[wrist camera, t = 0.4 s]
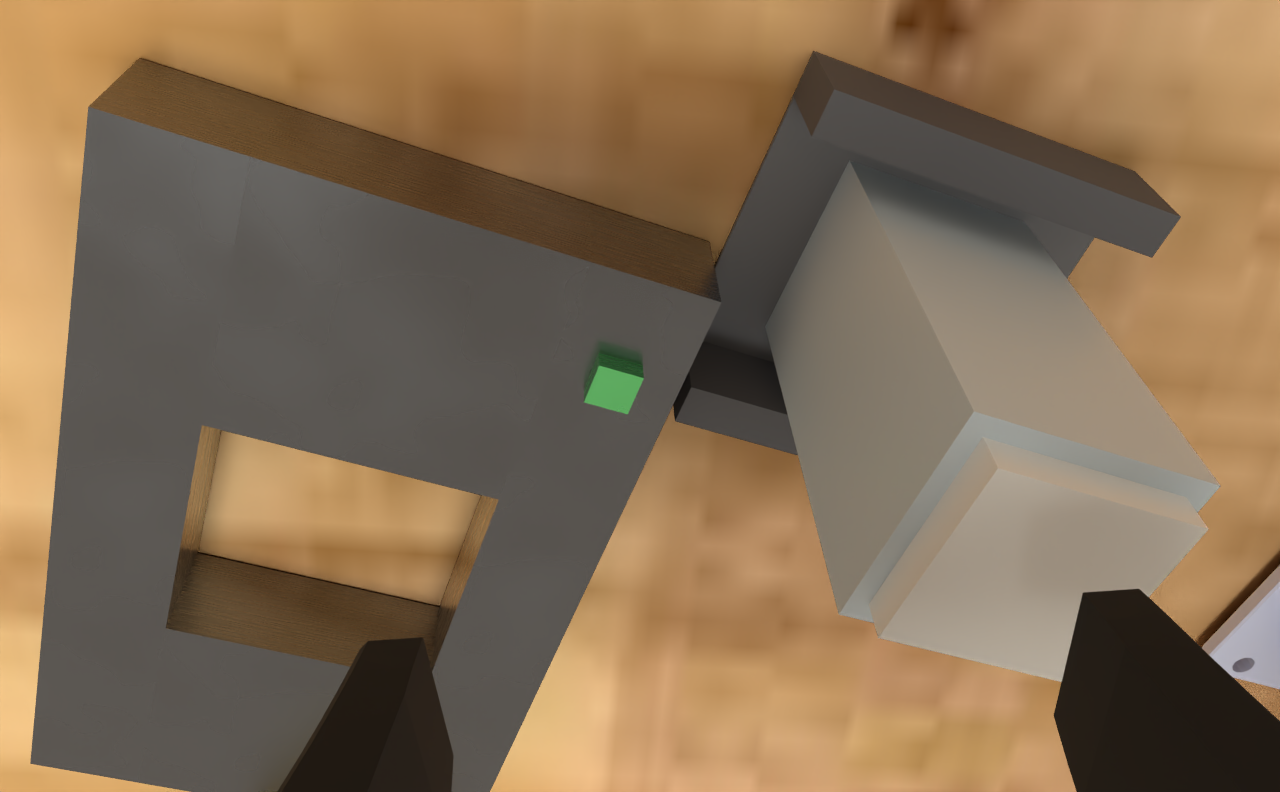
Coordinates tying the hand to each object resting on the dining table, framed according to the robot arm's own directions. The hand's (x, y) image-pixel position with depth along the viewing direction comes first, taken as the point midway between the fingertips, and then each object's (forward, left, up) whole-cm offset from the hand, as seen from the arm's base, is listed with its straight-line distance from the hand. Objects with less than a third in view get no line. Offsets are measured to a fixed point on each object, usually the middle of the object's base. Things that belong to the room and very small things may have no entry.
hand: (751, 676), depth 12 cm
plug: (-4, -1, -10) cm, 10 cm away
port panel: (+5, +7, -10) cm, 13 cm away
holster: (-4, -1, -10) cm, 10 cm away
